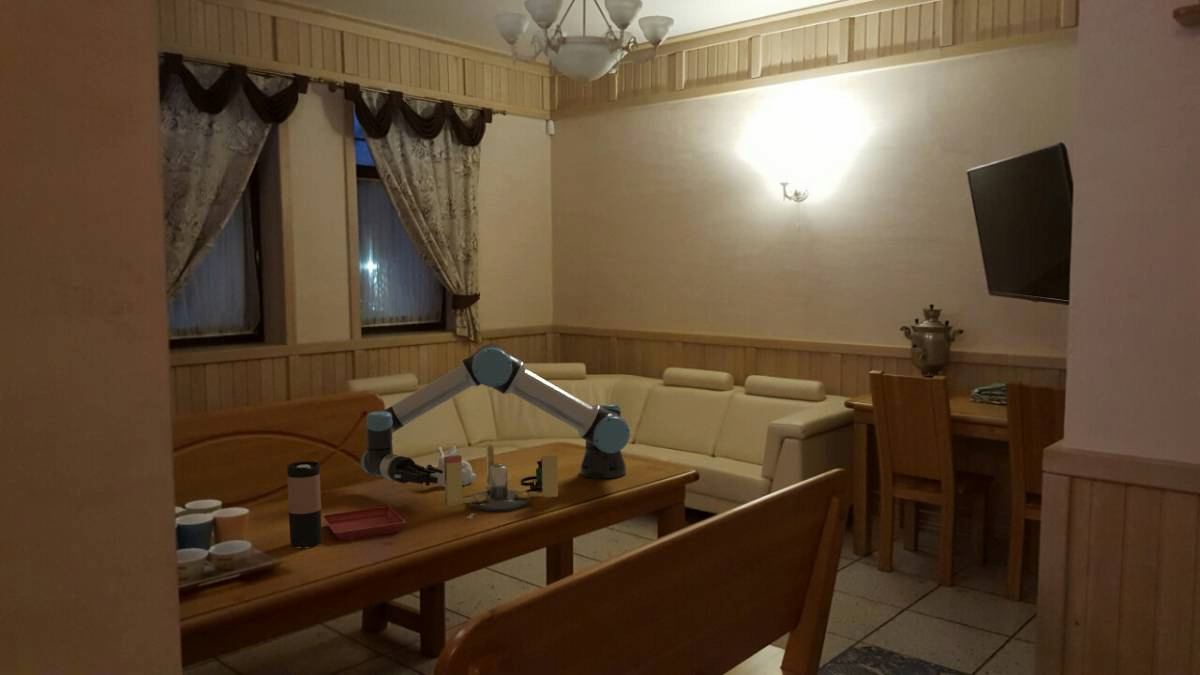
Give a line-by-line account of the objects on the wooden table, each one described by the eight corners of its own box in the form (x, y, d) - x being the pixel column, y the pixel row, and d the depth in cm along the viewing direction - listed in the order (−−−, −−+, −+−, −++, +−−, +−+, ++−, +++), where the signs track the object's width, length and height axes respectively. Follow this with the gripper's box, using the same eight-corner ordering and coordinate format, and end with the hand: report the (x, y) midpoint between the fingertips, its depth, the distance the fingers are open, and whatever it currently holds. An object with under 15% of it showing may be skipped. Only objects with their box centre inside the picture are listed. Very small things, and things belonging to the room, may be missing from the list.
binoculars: (522, 457, 270) (553, 455, 268) (526, 491, 271) (557, 489, 269) (514, 463, 262) (546, 461, 260) (518, 498, 262) (550, 496, 260)
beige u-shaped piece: (484, 498, 250) (483, 451, 249) (489, 501, 247) (489, 453, 246) (443, 504, 244) (442, 456, 243) (448, 508, 241) (447, 458, 240)
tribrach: (570, 494, 263) (569, 447, 261) (533, 524, 232) (532, 470, 231) (488, 489, 270) (487, 443, 269) (442, 517, 239) (441, 465, 238)
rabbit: (440, 489, 271) (439, 451, 270) (434, 482, 280) (433, 445, 279) (478, 485, 276) (478, 447, 275) (471, 478, 284) (470, 442, 283)
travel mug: (294, 539, 220) (291, 461, 219) (325, 538, 221) (322, 460, 219) (286, 549, 212) (283, 468, 211) (318, 548, 213) (315, 467, 212)
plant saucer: (334, 545, 217) (334, 531, 217) (321, 526, 233) (321, 514, 233) (406, 534, 225) (406, 521, 225) (389, 517, 241) (389, 505, 241)
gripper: (418, 477, 265) (467, 490, 249) (378, 485, 255) (427, 499, 239) (417, 452, 264) (467, 464, 248) (378, 459, 254) (427, 472, 238)
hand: (447, 481), depth 243 cm, fingers closed
